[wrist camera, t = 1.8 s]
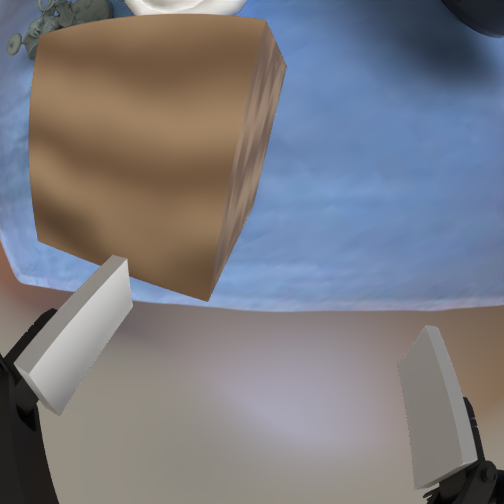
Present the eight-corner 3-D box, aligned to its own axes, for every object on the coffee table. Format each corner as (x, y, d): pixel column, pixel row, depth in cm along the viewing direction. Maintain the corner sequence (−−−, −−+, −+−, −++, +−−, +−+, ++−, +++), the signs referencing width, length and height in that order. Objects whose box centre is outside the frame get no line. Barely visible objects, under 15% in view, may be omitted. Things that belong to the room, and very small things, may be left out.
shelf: (153, 51, 26) (40, 34, 11) (286, 66, 25) (265, 19, 10) (136, 178, 35) (38, 240, 19) (253, 206, 34) (208, 301, 19)
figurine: (122, 30, 25) (57, 17, 14) (69, 75, 28) (5, 81, 18) (103, -17, 21) (45, -34, 10) (53, 28, 24) (-5, 27, 14)
